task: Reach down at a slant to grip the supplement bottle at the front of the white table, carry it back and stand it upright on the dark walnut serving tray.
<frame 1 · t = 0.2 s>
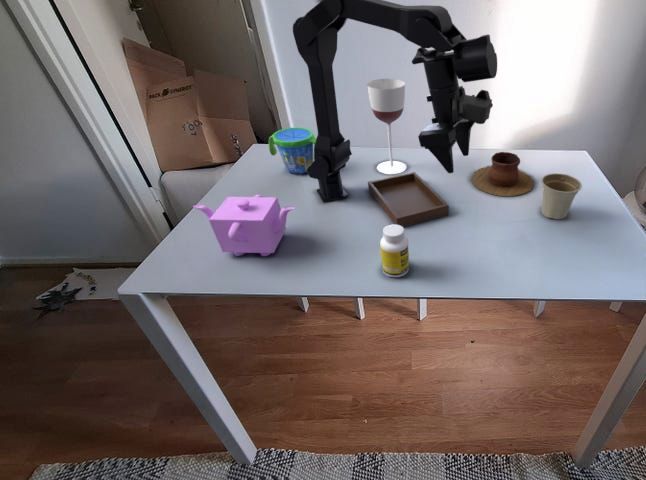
hand: (458, 163, 83), 15 cm above the table, tool pointing down, fingers open, 9 cm apart
ceramic pot: (502, 181, 110), on the table
wineglass: (391, 168, 115), on the table
tray: (407, 202, 100), on the table
snack cup: (300, 169, 112), on the table
flower pot: (553, 214, 98), on the table
supplement bottle: (396, 270, 79), on the table
teapot: (257, 245, 84), on the table
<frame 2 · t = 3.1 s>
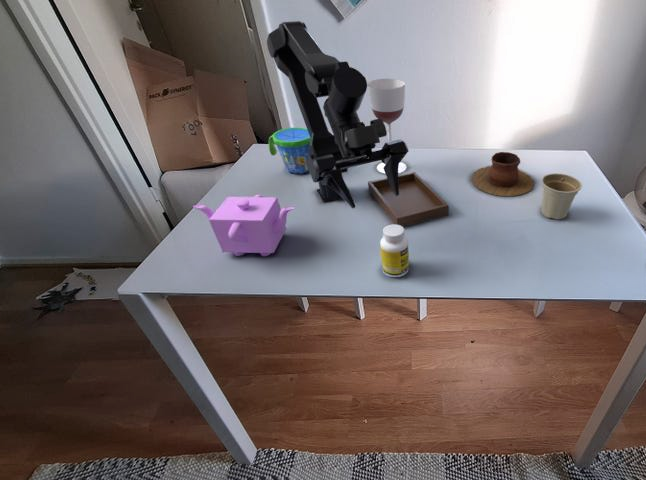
hand: (376, 201, 75), 13 cm above the table, tool tilted 45°, fingers open, 9 cm apart
nothing on the table moved.
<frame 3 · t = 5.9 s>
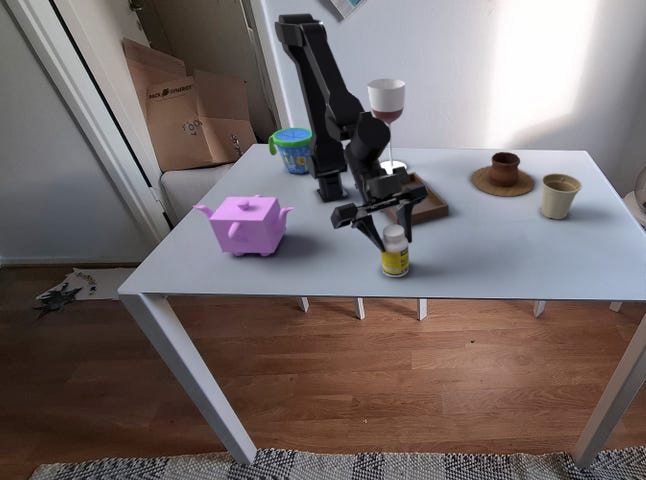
hand: (397, 247, 74), 7 cm above the table, tool tilted 45°, fingers closed on supplement bottle, 5 cm apart
supplement bottle: (396, 270, 79), on the table, touching gripper
everything else where it was.
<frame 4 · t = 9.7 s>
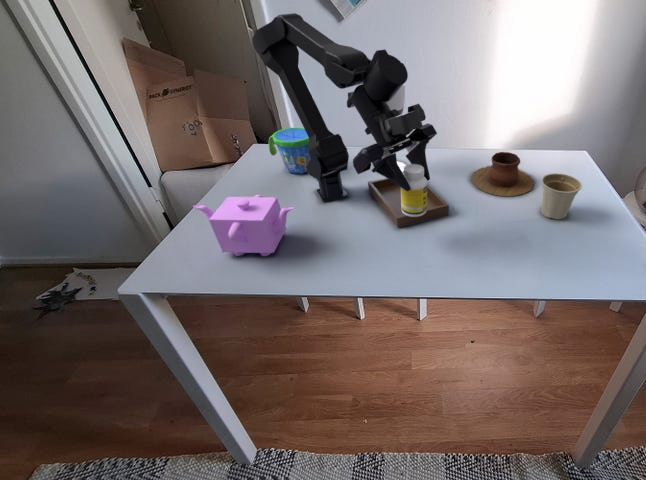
hand: (418, 185, 78), 14 cm above the table, tool tilted 45°, fingers closed on supplement bottle, 5 cm apart
supplement bottle: (414, 211, 83), point 7 cm above the table, touching gripper
everything else where it was.
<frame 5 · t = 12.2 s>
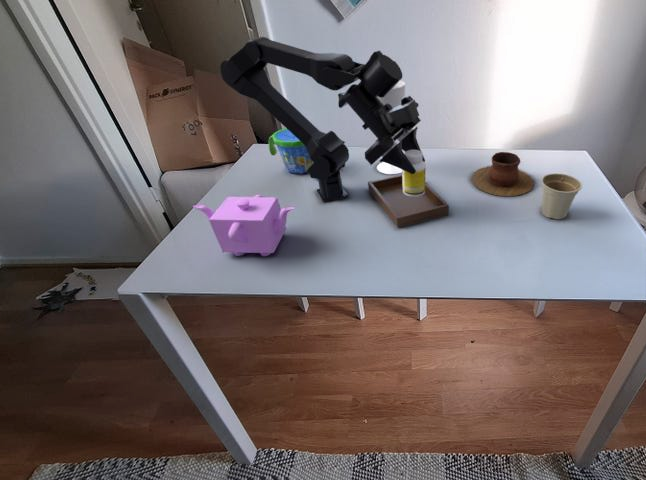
hand: (419, 167, 89), 12 cm above the table, tool tilted 45°, fingers closed on supplement bottle, 5 cm apart
supplement bottle: (414, 192, 93), point 5 cm above the table, touching gripper
everything else where it was.
when the fingers open (7 cm above the table, at t = 14.0 s): supplement bottle stays where it is, resting on tray.
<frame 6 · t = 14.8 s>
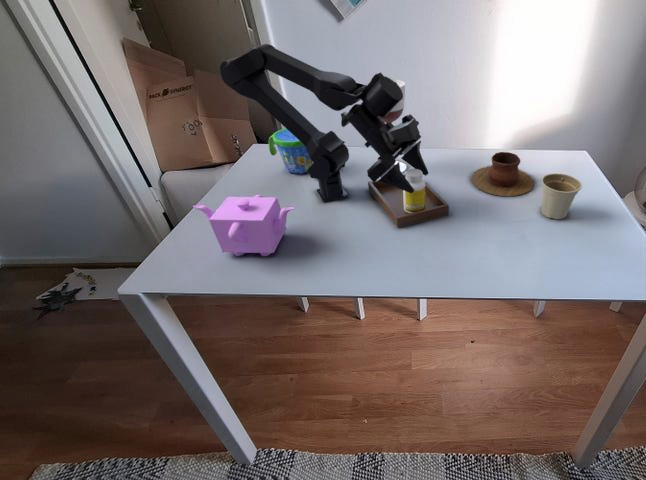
hand: (420, 183, 91), 8 cm above the table, tool tilted 45°, fingers open, 9 cm apart
supplement bottle: (414, 209, 96), resting on tray
everything else where it was.
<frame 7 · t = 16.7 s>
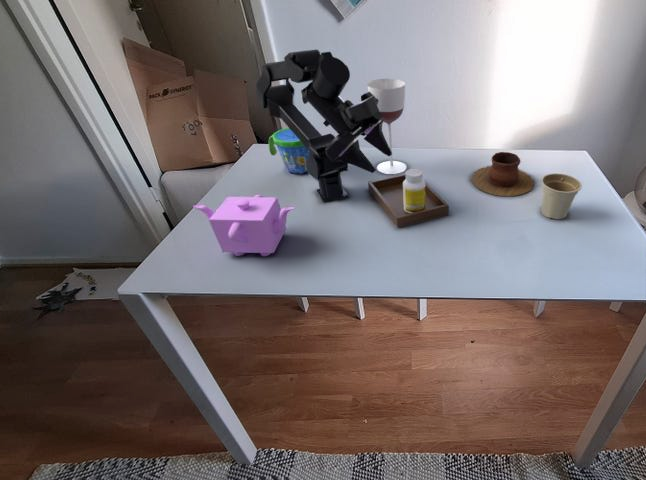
hand: (382, 163, 89), 12 cm above the table, tool tilted 45°, fingers open, 9 cm apart
nothing on the table moved.
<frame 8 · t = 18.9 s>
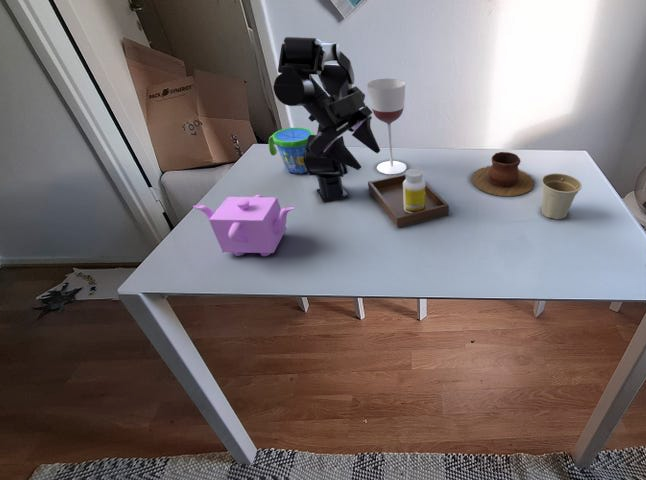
hand: (369, 160, 87), 14 cm above the table, tool tilted 45°, fingers open, 9 cm apart
nothing on the table moved.
at the end: supplement bottle inside the target area in the tray (4.9 cm from its centre), point 0.4 cm above the tray's base; supplement bottle tilted 0°; the gripper is holding nothing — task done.
